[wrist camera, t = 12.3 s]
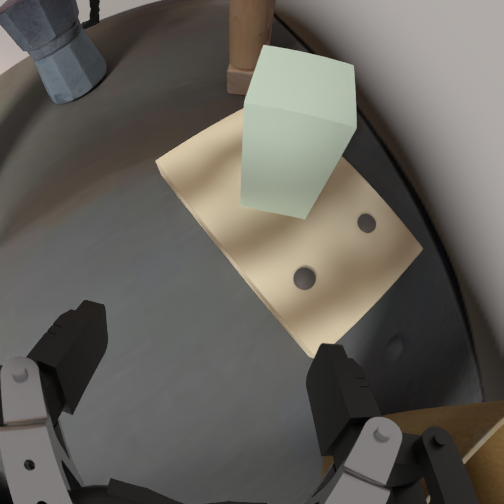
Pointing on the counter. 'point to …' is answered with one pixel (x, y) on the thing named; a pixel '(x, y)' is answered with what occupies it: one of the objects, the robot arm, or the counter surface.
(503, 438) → the plant pot
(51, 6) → the moka pot
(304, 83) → the block
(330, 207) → the wooden board with holes
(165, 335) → the counter surface
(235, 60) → the wooden block
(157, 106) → the counter surface
